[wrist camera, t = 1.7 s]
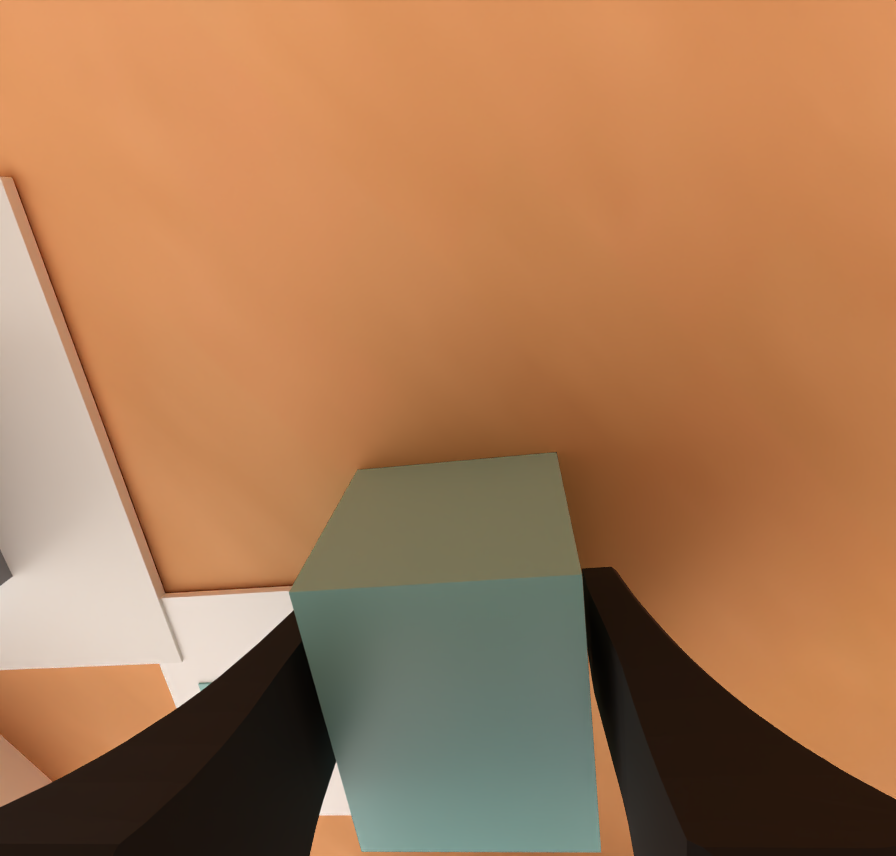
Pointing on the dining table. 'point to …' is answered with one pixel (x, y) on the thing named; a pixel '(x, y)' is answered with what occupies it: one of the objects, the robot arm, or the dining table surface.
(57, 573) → the baseplate
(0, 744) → the cream brick
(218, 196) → the dining table surface
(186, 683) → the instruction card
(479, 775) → the teal brick
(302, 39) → the dining table surface
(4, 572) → the base brick
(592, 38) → the dining table surface
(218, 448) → the dining table surface
